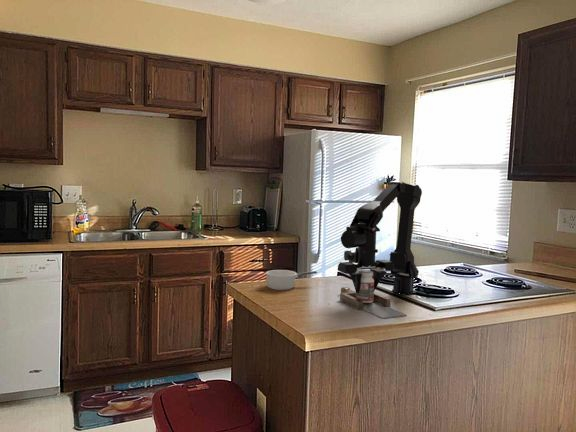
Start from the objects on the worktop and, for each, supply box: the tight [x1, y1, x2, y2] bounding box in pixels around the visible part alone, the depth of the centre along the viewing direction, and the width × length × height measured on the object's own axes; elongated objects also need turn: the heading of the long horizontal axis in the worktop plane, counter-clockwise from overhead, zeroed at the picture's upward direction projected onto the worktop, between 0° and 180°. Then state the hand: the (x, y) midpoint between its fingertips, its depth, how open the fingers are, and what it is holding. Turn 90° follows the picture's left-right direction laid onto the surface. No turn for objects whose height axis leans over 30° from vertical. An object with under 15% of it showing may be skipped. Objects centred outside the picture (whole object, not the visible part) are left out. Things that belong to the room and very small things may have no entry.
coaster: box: [365, 306, 408, 320], centre depth 149 cm, size 9×9×1 cm
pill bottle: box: [356, 269, 375, 304], centre depth 160 cm, size 6×6×10 cm
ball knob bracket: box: [339, 286, 392, 310], centre depth 164 cm, size 12×20×2 cm, turn 24°
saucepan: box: [265, 269, 318, 291], centre depth 181 cm, size 12×20×6 cm, turn 109°
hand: (365, 291), depth 160 cm, fingers closed on pill bottle, 6 cm apart
